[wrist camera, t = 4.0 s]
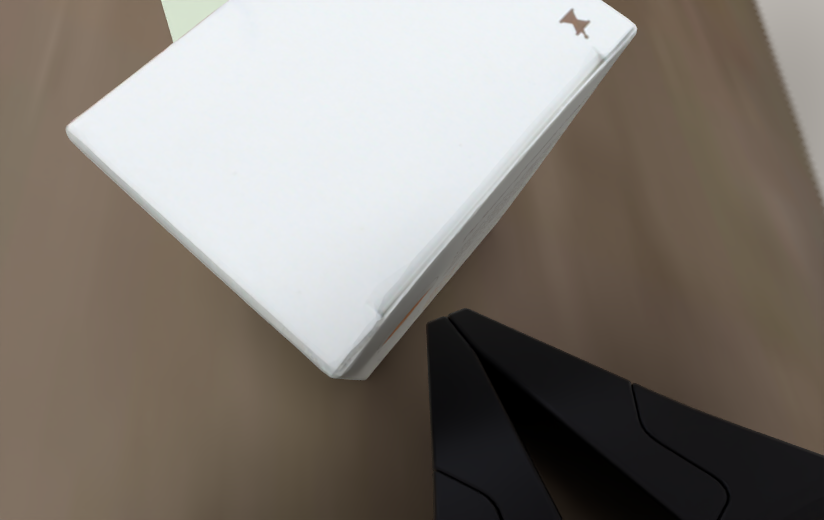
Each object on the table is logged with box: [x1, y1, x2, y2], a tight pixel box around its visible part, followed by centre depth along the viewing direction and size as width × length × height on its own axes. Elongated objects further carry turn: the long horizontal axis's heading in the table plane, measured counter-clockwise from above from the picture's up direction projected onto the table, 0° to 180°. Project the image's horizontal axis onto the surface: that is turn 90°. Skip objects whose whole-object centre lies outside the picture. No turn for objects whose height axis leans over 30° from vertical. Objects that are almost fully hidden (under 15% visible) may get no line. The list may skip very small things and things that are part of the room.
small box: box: [66, 0, 637, 380], centre depth 12 cm, size 8×6×10 cm
